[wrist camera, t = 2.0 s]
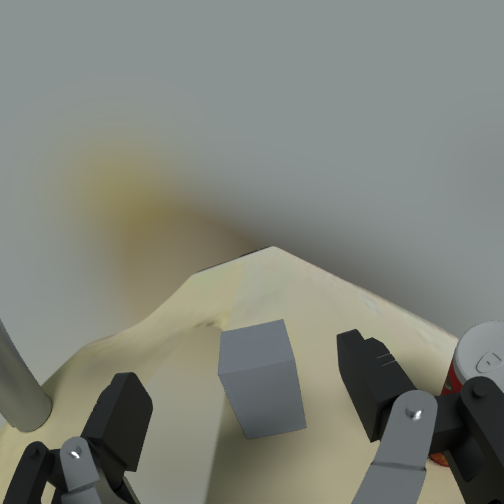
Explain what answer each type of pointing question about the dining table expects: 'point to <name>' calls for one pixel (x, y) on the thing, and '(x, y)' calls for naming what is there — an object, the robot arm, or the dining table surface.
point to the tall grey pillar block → (261, 379)
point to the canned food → (475, 361)
